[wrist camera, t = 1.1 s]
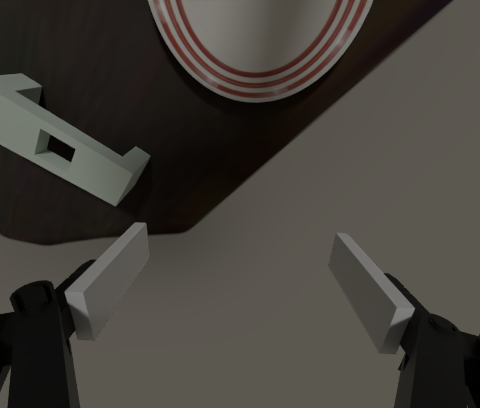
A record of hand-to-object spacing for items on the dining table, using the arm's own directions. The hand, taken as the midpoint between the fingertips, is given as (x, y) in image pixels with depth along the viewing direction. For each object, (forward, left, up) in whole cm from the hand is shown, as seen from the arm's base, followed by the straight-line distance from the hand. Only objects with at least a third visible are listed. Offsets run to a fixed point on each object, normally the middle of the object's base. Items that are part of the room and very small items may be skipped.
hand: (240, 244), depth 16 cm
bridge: (+19, -23, -27) cm, 40 cm away
